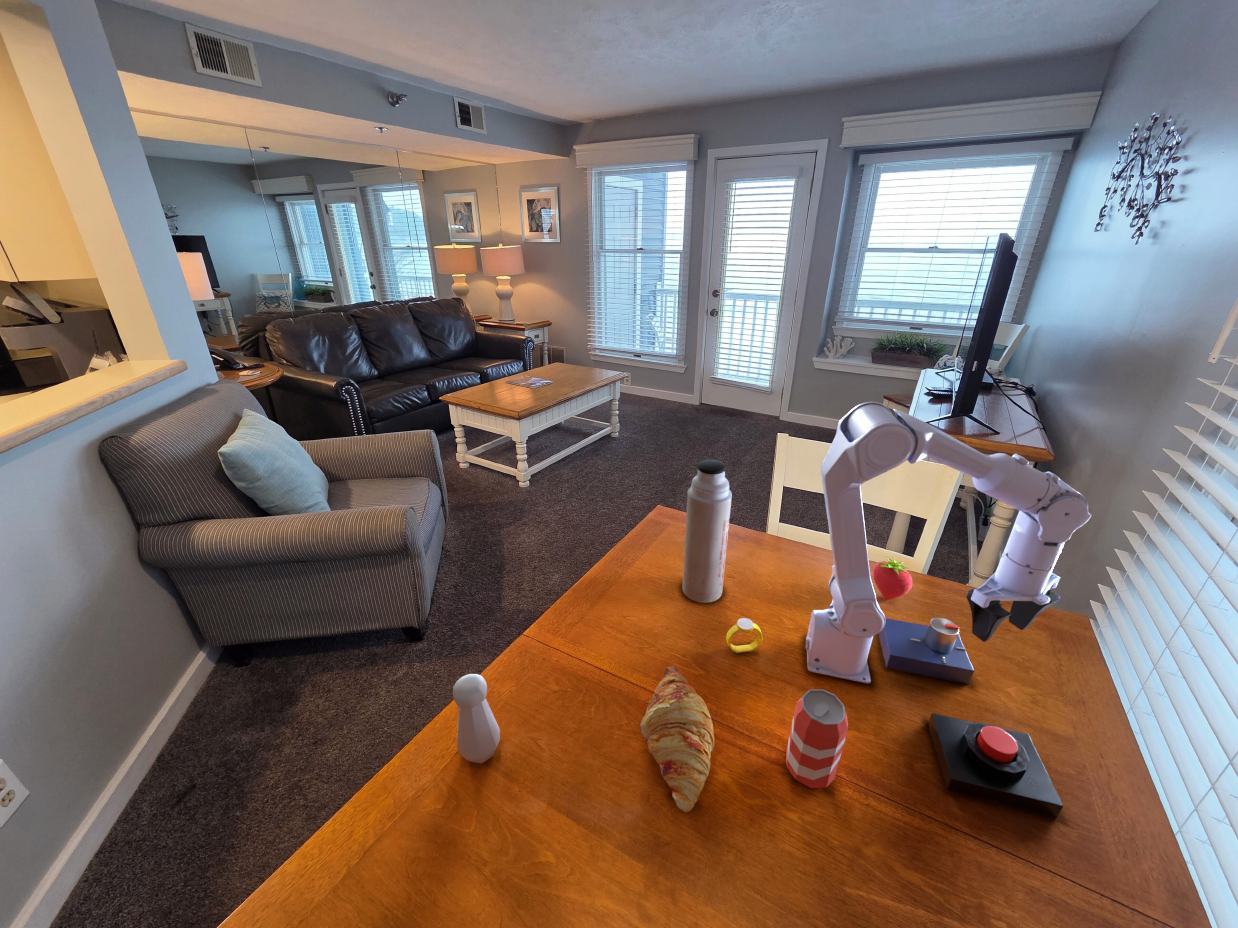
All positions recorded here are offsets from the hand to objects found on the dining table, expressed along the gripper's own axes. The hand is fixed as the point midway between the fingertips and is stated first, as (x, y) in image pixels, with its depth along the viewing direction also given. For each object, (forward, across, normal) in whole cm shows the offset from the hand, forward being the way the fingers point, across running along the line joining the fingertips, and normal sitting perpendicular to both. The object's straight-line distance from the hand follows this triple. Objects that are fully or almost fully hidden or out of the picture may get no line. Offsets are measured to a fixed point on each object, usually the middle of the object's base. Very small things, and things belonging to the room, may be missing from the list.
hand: (998, 631), depth 77 cm
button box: (+10, -13, -11) cm, 20 cm away
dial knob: (+7, -4, +5) cm, 9 cm away
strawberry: (+10, 0, +20) cm, 22 cm away
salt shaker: (+10, -78, +12) cm, 79 cm away
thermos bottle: (+10, -33, +34) cm, 48 cm away
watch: (+10, -33, +17) cm, 39 cm away
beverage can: (+10, -36, -4) cm, 37 cm away
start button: (+6, -13, -11) cm, 18 cm away
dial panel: (+10, -5, +6) cm, 13 cm away
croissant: (+10, -51, +5) cm, 52 cm away
